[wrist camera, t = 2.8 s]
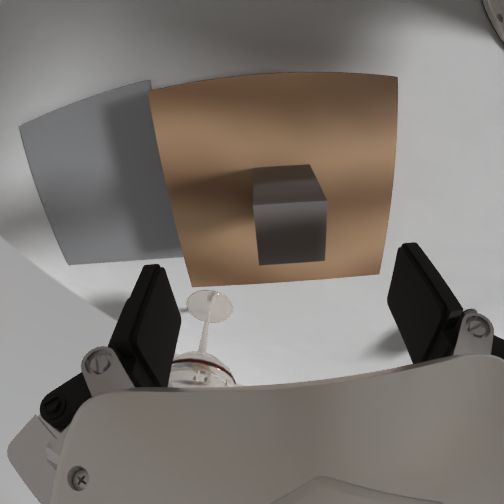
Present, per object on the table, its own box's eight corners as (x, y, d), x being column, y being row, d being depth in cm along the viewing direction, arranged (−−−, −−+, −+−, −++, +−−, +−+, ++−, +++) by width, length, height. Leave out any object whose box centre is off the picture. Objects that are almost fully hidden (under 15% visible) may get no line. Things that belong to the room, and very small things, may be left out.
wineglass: (170, 313, 33) (145, 406, 23) (193, 273, 30) (168, 377, 20) (223, 335, 35) (213, 427, 25) (252, 300, 31) (249, 403, 22)
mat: (22, 124, 20) (19, 126, 20) (149, 79, 19) (147, 80, 19) (70, 261, 29) (68, 264, 29) (186, 253, 28) (185, 256, 28)
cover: (153, 89, 15) (108, 103, 10) (390, 76, 14) (444, 85, 9) (194, 278, 23) (179, 339, 18) (375, 266, 22) (400, 323, 17)
